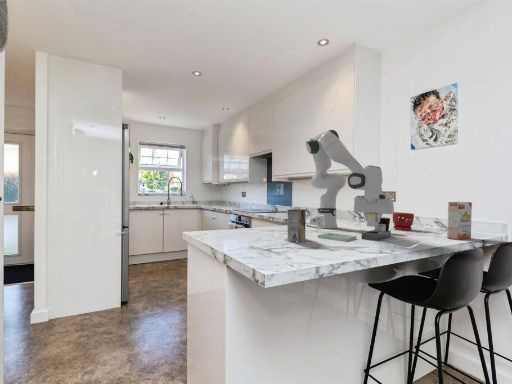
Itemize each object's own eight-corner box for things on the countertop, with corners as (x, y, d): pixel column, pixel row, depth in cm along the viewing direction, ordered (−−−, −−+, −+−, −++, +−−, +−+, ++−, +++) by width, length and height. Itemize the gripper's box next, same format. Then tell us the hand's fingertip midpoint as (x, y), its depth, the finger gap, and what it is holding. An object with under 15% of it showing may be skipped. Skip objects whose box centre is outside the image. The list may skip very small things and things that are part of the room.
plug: (366, 226, 146) (366, 213, 146) (370, 225, 149) (370, 212, 149) (374, 226, 143) (374, 213, 143) (378, 226, 146) (378, 213, 146)
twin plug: (374, 236, 153) (374, 224, 153) (378, 235, 157) (378, 223, 157) (382, 237, 150) (382, 225, 150) (385, 236, 154) (385, 224, 154)
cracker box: (458, 240, 149) (459, 202, 149) (446, 238, 155) (447, 201, 155) (472, 238, 156) (472, 201, 156) (460, 236, 161) (460, 201, 161)
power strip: (361, 240, 145) (361, 231, 145) (376, 236, 160) (376, 228, 160) (377, 242, 140) (377, 233, 140) (390, 237, 154) (390, 230, 154)
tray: (318, 238, 148) (318, 234, 148) (329, 236, 157) (329, 232, 157) (345, 242, 137) (345, 238, 137) (356, 239, 145) (356, 236, 145)
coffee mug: (391, 235, 164) (392, 218, 164) (376, 234, 166) (376, 218, 166) (386, 232, 176) (386, 216, 176) (372, 231, 178) (372, 216, 178)
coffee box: (294, 238, 147) (294, 208, 147) (305, 240, 143) (306, 209, 143) (287, 241, 139) (287, 209, 139) (298, 242, 135) (299, 210, 135)
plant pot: (409, 231, 182) (409, 213, 182) (389, 229, 192) (389, 212, 192) (416, 230, 190) (416, 212, 190) (396, 228, 200) (397, 211, 200)
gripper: (351, 195, 151) (351, 220, 151) (390, 196, 137) (390, 223, 137) (356, 195, 156) (356, 219, 156) (395, 196, 141) (394, 222, 141)
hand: (372, 221), depth 146 cm, fingers closed on plug, 4 cm apart
